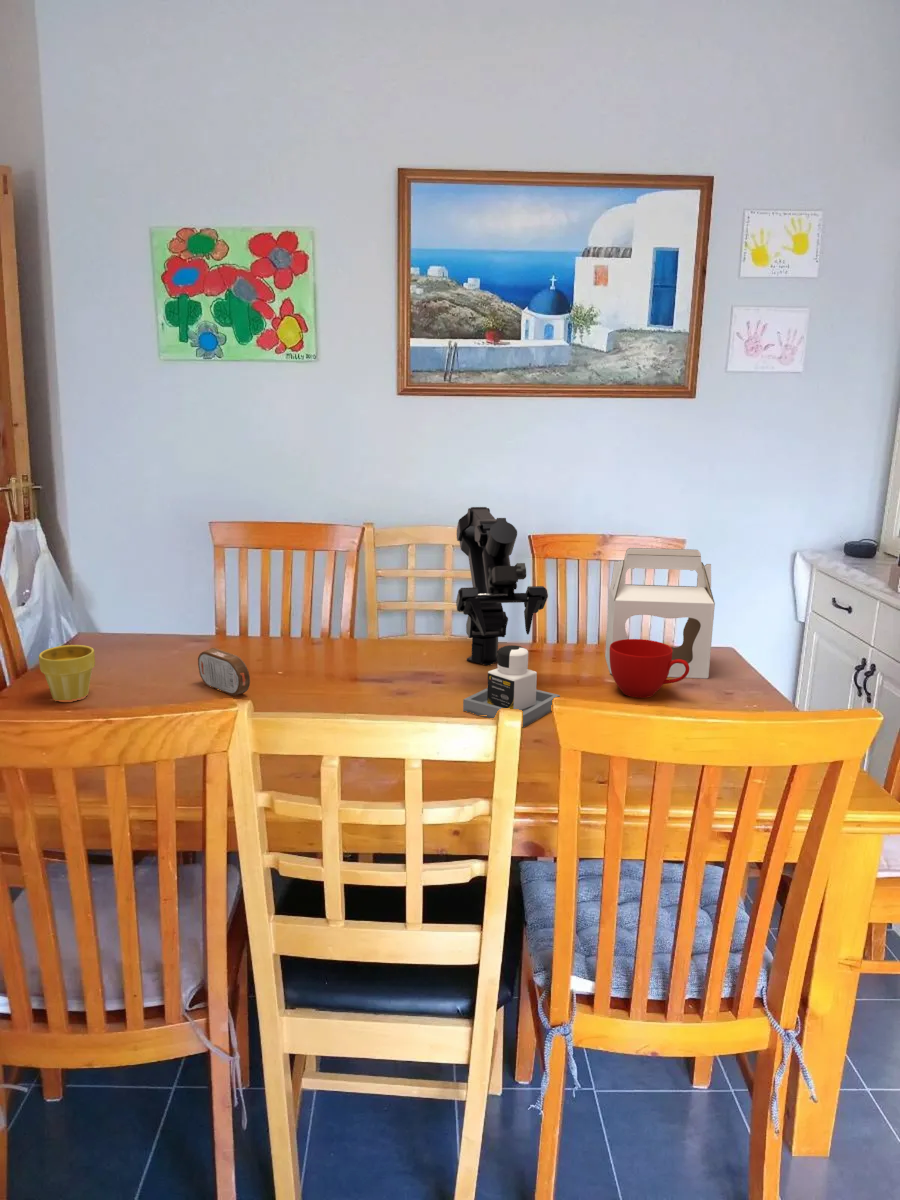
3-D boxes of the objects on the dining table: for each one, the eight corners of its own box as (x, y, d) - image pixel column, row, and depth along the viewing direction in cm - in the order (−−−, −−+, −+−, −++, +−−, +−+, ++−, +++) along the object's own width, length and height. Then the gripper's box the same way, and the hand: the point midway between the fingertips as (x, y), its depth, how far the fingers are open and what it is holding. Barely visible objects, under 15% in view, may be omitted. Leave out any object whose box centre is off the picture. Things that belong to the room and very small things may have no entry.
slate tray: (501, 692, 187) (501, 681, 186) (559, 706, 179) (560, 695, 178) (463, 711, 176) (463, 699, 175) (523, 727, 168) (523, 715, 167)
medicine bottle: (486, 704, 178) (487, 647, 175) (509, 696, 183) (511, 640, 180) (512, 714, 173) (514, 655, 170) (536, 705, 178) (538, 648, 175)
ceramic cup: (676, 711, 177) (680, 664, 174) (597, 695, 186) (600, 649, 183) (695, 693, 188) (699, 648, 185) (620, 678, 196) (623, 635, 194)
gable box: (608, 675, 199) (616, 553, 192) (604, 657, 211) (610, 542, 205) (709, 679, 197) (720, 555, 190) (698, 661, 210) (708, 545, 203)
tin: (252, 696, 182) (250, 658, 180) (239, 700, 180) (237, 661, 178) (209, 680, 192) (206, 643, 190) (196, 684, 190) (194, 646, 188)
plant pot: (95, 703, 177) (91, 657, 175) (39, 708, 174) (34, 661, 172) (100, 687, 187) (96, 642, 185) (47, 691, 184) (42, 646, 182)
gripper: (459, 549, 181) (466, 615, 173) (547, 548, 184) (558, 613, 176) (453, 578, 191) (459, 642, 183) (537, 577, 193) (547, 640, 185)
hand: (506, 634), depth 181 cm, fingers open, 9 cm apart
